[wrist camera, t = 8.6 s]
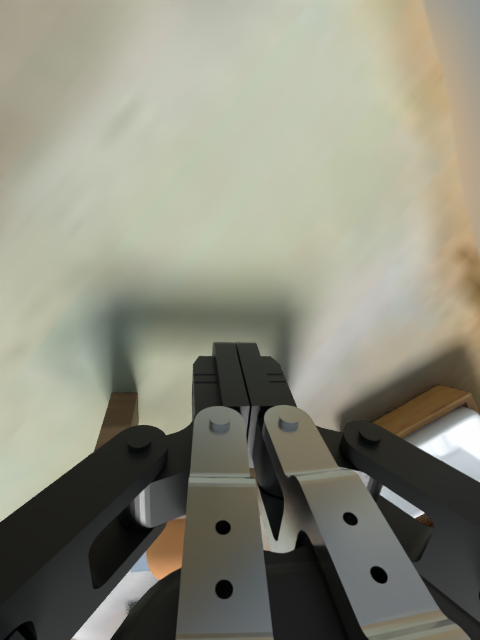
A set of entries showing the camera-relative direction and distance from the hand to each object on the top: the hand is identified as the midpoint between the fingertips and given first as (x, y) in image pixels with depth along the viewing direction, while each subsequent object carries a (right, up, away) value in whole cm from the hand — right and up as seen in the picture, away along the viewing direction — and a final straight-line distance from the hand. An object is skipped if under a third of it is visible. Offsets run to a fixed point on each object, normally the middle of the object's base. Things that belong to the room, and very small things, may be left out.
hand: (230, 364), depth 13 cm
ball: (-6, -20, +22) cm, 30 cm away
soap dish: (+16, -10, +23) cm, 30 cm away
